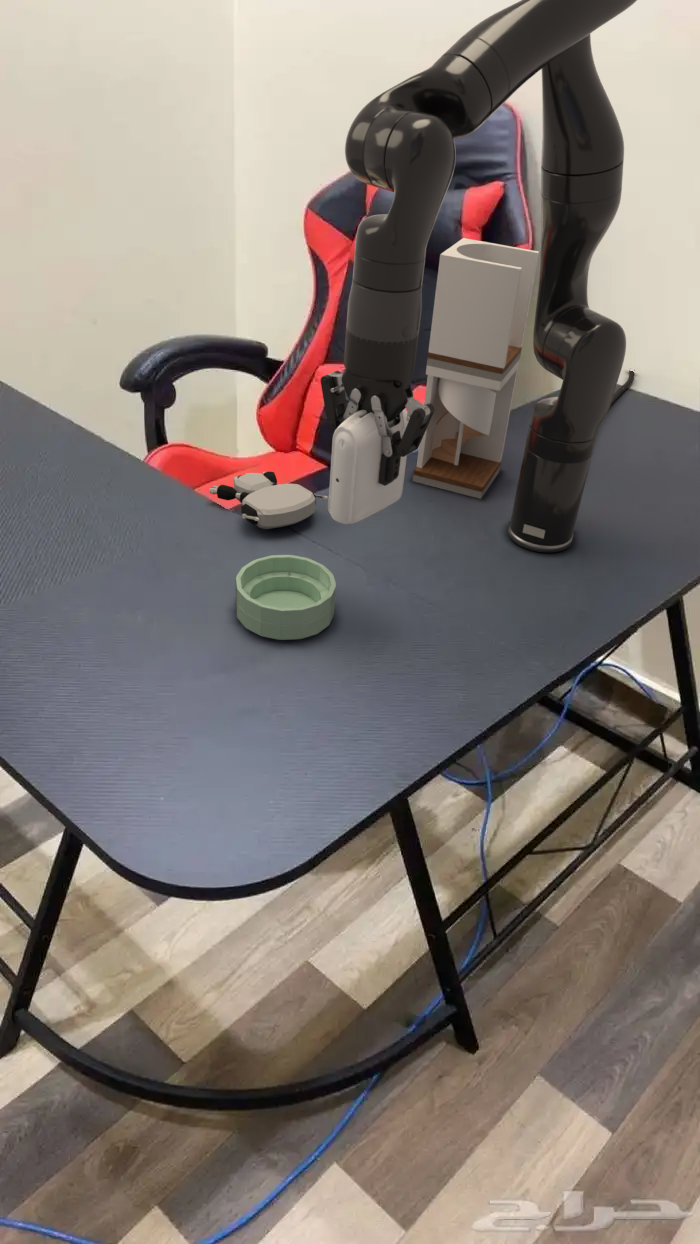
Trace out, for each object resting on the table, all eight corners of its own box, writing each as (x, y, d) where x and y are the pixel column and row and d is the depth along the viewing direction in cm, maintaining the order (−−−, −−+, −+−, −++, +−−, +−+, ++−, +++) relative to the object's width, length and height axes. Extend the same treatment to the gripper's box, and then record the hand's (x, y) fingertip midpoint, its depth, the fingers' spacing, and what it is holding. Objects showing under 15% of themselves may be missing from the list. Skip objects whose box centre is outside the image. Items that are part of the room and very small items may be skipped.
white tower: (412, 481, 151) (440, 254, 131) (434, 455, 159) (463, 238, 139) (480, 498, 148) (520, 269, 127) (499, 471, 156) (539, 251, 136)
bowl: (278, 576, 127) (279, 544, 124) (352, 611, 121) (355, 579, 118) (215, 616, 118) (215, 583, 115) (292, 656, 113) (293, 622, 110)
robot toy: (204, 506, 142) (260, 545, 132) (202, 479, 139) (259, 516, 129) (272, 486, 148) (330, 522, 138) (271, 459, 146) (331, 494, 136)
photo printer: (349, 530, 106) (358, 427, 99) (321, 515, 108) (328, 413, 101) (406, 500, 112) (419, 402, 105) (379, 487, 115) (389, 390, 107)
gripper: (460, 336, 97) (438, 485, 107) (349, 301, 103) (338, 445, 113) (420, 354, 92) (401, 508, 102) (306, 316, 98) (298, 465, 108)
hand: (368, 474), depth 108 cm, fingers closed on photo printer, 4 cm apart
